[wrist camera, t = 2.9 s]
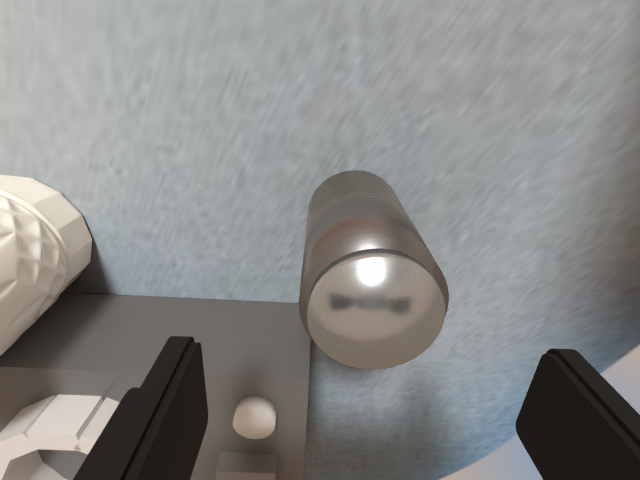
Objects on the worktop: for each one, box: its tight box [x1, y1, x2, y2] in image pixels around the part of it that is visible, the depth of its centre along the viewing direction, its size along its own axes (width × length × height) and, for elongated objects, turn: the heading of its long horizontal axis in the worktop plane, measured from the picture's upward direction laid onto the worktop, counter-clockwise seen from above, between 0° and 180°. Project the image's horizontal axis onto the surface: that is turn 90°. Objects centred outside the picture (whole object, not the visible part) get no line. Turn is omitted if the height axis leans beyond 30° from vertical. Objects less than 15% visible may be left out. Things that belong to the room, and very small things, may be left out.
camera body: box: [0, 292, 311, 480], centre depth 21 cm, size 18×12×8 cm, turn 87°
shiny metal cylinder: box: [299, 171, 449, 369], centre depth 15 cm, size 5×5×9 cm
